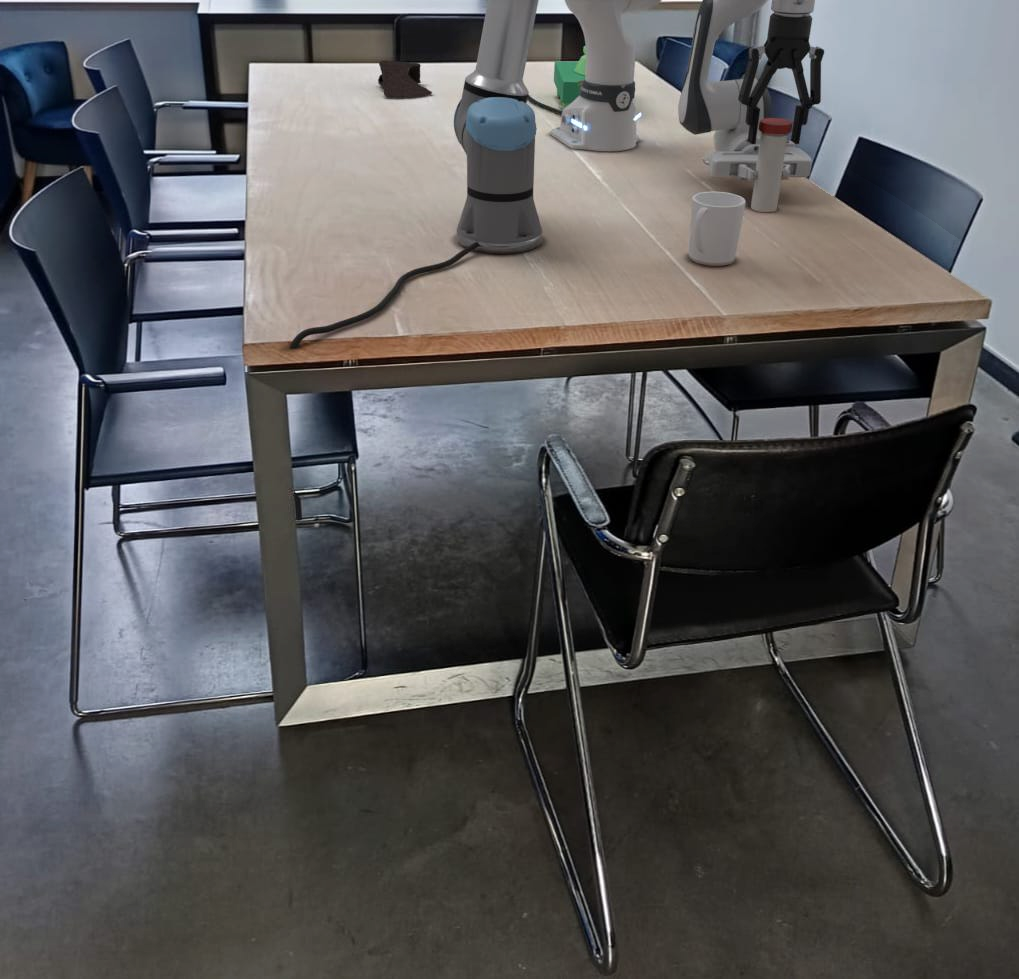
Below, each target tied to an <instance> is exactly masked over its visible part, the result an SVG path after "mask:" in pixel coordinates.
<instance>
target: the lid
mask: <svg viewBox="0 0 1019 979" xmlns="http://www.w3.org/2000/svg"><path fill="white" fill-rule="evenodd" d="M792 129H793V121H791V120H789V119H786V118H781V117H771V118H764V119H761V120H760V122H759V131H761V132H763V133H768V134H777V135H782V134H788V135H789V134H791V133H792Z"/></svg>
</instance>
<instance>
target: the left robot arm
mask: <svg viewBox="0 0 1019 979" xmlns="http://www.w3.org/2000/svg"><path fill="white" fill-rule="evenodd" d="M539 1H540V0H487V4H486V9H485V15H484V21H483V26H482V30H481V36H480V37H481V38H480V43H479V49H478V52H477V53H478V54H477V59H476V65H475V68H474V71H473V72H471V73H470V74H468V75H467V76H465V78H464V84H463V88H462V94H461V98H460V100H459V102H458V104H457V105H456V108H455V111H454V113H453V114H454V115H453V130H454V133H455V137H456V139H457V141H458V144H459V145H460V146H461V148H462V149H463V152H464V153H465V155H466V192H467V193H466V198H465V202H464V205H463V209H462V211H461V214H460V218H459V220H458V224H457V227H456V241H457V243H458V244H459V245H461V246H462V247H464V249H462V250H460V251H459V252H458V253H456V254H455V255H454V256H452V257H451V258H449V259H447V260H445V261H442V262H438V263H434V264H431V265H426V266H422V267H421V266H420V267H417V268H414V269H412V270H409V271H407V272H406V273H403V274H402V275H401V276H400V277H399V278H398V279H397V281H396V283H395V284H394V286H393V288H392V289H390V291H389V292H388V293H387V294H386V295H385V297H383V299H382V300H381V301H380V302H379V303H378V304H377V305H375V306H374V307H372V308H371V309H369V310H367V311H365V312H362V313H360V314H357V315H355V316H352V317H349V318H346V319H343V320H339V321H337V322H334V323H332V324H328V325H323V326H315V327H309V328H306V329H304V330H302V331H300V332H299V333H298V334H296V336H294V338H293V339H292V341H291V342H290V344H289V347H288V349H290V350H294V349H297V348H298V346H299V344H300V343H301V342H302V341H303V340H304V339H305V338H306V337H309V336H313V335H320V334H328V333H331V332H334V331H336V330H340V329H342V328H345V327H348V326H351V325H354V324H358V323H360V322H362V321H365V320H367V319H369V318H371V317H373V316H374V315H376V314H378V313H379V312H381V311H382V310H383V309H385V308H386V307H387V305H389V304H390V302H391V301H392V300H393V298H395V296H396V295H397V294H398V293H399V291H400V290H401V288H402V286H403V285H404V283H405V282H406V281H408V280H409V279H411V278H412V277H415V276H417V275H421V274H425V273H429V272H430V273H431V272H434V271H439V270H442V269H445V268H447V267H450V266H452V265H454V264H456V263H457V262H458V261H459V260H461V259H462V258H463V257H465V256H467V255H468V254H469V253H471V252H472V251H475V252H479V253H486V254H497V255H499V254H500V255H506V254H507V255H508V254H517V253H524V252H527V251H530V250H533V249H536V248H538V247H539V246H540V245H541V244H542V243H543V229H542V224H541V221H540V220H541V219H540V218H539V214H538V213H539V212H538V210H537V206H536V204H535V199H534V184H535V181H534V180H535V157H536V156H535V154H536V152H535V151H536V135H537V123H536V114H535V111H534V109H533V108H532V106H530V105H529V104H528V99H527V98H528V95H529V94H530V92H529V89H528V87H527V86H526V84H525V83H524V74H525V69H526V64H527V61H528V60H527V59H528V55H529V50H530V45H531V40H532V35H533V31H534V26H535V21H536V15H537V11H538V5H539ZM815 3H816V0H771V4H770V10H771V11H772V12H773V13H771V14H770V15H769V21H768V29H767V38H766V41H765V42H764V44H763V45H760V46H752V45H751V46H749V48H748V60H747V61H748V62H747V65H746V68H745V72H744V76H743V78H742V79H743V83H742V86H741V90H740V93H739V97H738V101H739V102H741V103H742V104H743V105H746V106H747V112H746V120H745V121H746V124H747V125H750V126H749V133H748V142H750V143H751V144H756V136H757V129H758V122H759V114H760V108H758V107H757V104H758V102H759V100H760V99H761V97H762V95H763V93H764V91H765V89H766V88H768V85H769V84H770V81H771V80H772V78H773V76H774V75H775V74H776V72H777V70H782V69H783V70H784V69H788V70H791V71H792V74H793V79H794V83H795V87H796V91H797V94H798V99H799V103H800V105H795V109H794V117H793V121H792V131H791V136H790V141H792V142H793V143H794V144H795V145H800V141H801V134H802V128H803V126H806V125H807V123H808V119H809V112H810V110H811V108H812V107H813V106H815V105H820V104H821V101H822V93H821V92H822V62H823V58H824V55H825V50H824V49H823V48H822V47H819V46H811V44H810V37H811V31H812V24H813V17H812V15H811V14H812V13H813V12H814V11H815ZM764 54H765V57H766V58H767V61H766V62H765V65H764V66H763V70H762V72H761V74H760V76H759V77H758V79H759V80H758V82H757V83H756V85H755V87H754V89H753V91H752V93H751V89H752V86H753V82H754V78H756V75H757V71H758V67H759V63H760V60H761V59H762V57H763V55H764ZM807 55H808V58H809V59H810V61H809V62H810V63H809V90H808V87H807V86H808V85H807V82H806V77H805V74H804V66H803V63H802V61H803V60H805V57H806V56H807ZM750 93H751V95H750ZM749 96H750V97H749ZM292 491H293V500H294V511H295V521H298V522H300V521H302V520H303V511H302V510H303V509H302V498H301V497H300V496H299V495H298V493H297V492H296V491H295V489H293V490H292Z"/></svg>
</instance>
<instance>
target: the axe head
mask: <svg viewBox="0 0 1019 979" xmlns="http://www.w3.org/2000/svg"><path fill="white" fill-rule="evenodd" d="M378 66H379V68H380V72H381V74H379V75H378V79H377V84H378V85H379V86H380V87H381V88H382V89H383V95H384V96H385V97H388V98H394V99H395V98H396V99H403V98H405V99H406V98H407V99H411V98H418V97H425V96H429V95H432V94H433V91H431V90H430V89H428V88H427V87H425V86H422V85H421V84H422V82H421V63H419V62H410V61H408V62H407V61H397V60H388V59H387V60H380V61H379V62H378Z"/></svg>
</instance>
